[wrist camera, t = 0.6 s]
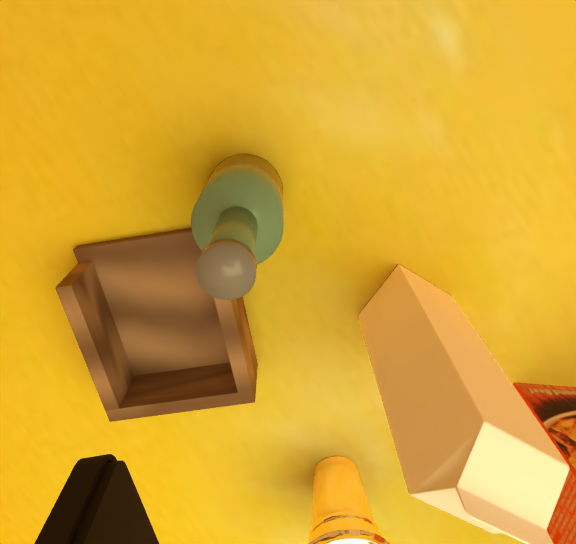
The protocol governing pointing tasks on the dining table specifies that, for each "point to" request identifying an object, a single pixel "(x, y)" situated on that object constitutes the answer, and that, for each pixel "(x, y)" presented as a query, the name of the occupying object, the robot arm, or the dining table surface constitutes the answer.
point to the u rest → (156, 328)
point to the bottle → (237, 224)
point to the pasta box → (568, 440)
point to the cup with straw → (341, 506)
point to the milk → (458, 414)
